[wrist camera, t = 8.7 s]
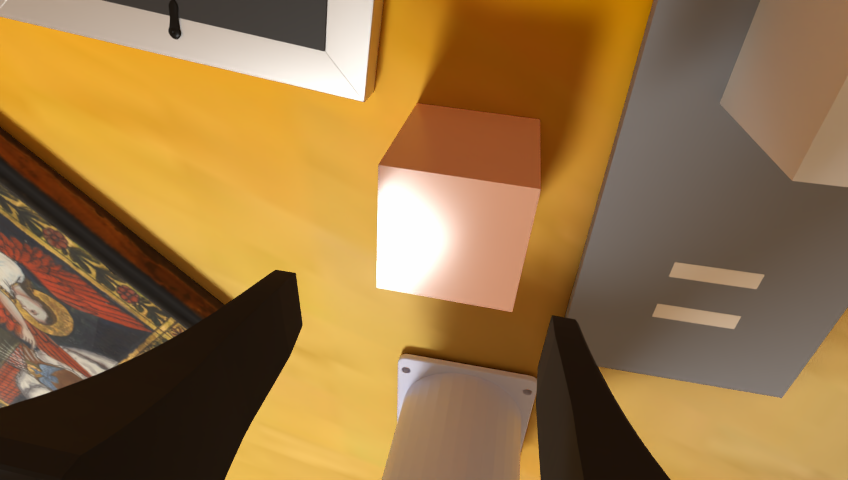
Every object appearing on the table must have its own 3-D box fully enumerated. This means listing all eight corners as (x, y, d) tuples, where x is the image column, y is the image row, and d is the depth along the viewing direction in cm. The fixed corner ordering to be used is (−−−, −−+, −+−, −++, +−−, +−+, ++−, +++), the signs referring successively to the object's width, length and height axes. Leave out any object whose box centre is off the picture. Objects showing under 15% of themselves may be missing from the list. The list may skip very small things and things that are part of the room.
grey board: (777, 388, 24) (782, 398, 24) (555, 350, 26) (555, 359, 25) (1183, -191, 12) (1211, -195, 11) (709, -199, 13) (716, -203, 13)
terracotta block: (517, 223, 22) (512, 312, 17) (411, 207, 23) (376, 287, 18) (540, 118, 19) (540, 189, 14) (417, 102, 20) (378, 164, 15)
